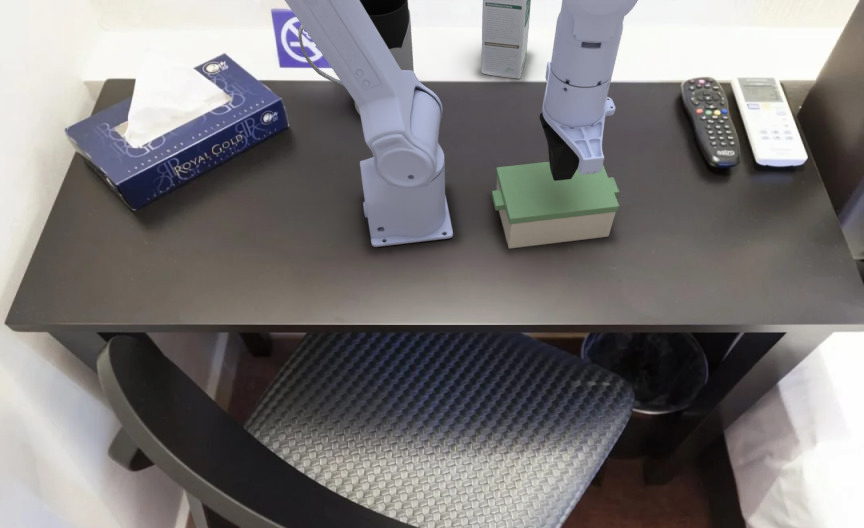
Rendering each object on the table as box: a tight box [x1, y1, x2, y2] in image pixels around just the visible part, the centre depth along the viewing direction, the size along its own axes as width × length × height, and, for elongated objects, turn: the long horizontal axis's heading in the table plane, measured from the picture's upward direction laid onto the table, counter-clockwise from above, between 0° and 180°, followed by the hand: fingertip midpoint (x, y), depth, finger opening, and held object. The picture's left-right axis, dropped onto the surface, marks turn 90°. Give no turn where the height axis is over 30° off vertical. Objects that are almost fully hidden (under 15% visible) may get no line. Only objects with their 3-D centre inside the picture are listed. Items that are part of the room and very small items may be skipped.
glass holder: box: [297, 0, 415, 115], centre depth 84 cm, size 9×14×15 cm, turn 108°
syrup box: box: [480, 0, 532, 80], centre depth 89 cm, size 6×6×14 cm
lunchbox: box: [491, 161, 620, 249], centre depth 77 cm, size 14×5×8 cm
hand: (561, 175), depth 72 cm, fingers closed
